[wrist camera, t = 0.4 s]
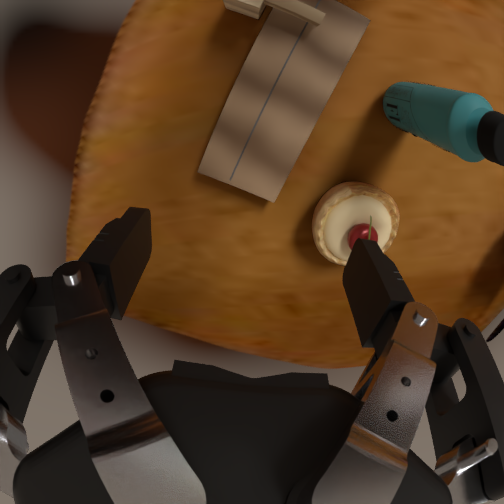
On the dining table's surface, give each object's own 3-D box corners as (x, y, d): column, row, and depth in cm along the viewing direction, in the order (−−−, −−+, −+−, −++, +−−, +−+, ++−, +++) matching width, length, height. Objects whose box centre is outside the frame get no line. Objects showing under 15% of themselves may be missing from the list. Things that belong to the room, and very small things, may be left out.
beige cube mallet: (240, -17, 22) (237, -34, 17) (319, 14, 24) (332, 3, 19) (226, 8, 24) (220, -5, 19) (306, 39, 26) (316, 32, 21)
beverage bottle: (366, 96, 30) (470, 127, 13) (402, 70, 27) (518, 87, 10) (393, 136, 32) (494, 200, 16) (427, 111, 30) (537, 158, 13)
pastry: (312, 253, 43) (320, 294, 36) (303, 179, 37) (313, 210, 29) (387, 242, 41) (407, 279, 34) (389, 169, 35) (418, 198, 28)
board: (287, -15, 22) (289, -21, 20) (363, 23, 24) (370, 20, 22) (200, 165, 35) (197, 172, 33) (272, 194, 37) (274, 202, 35)
